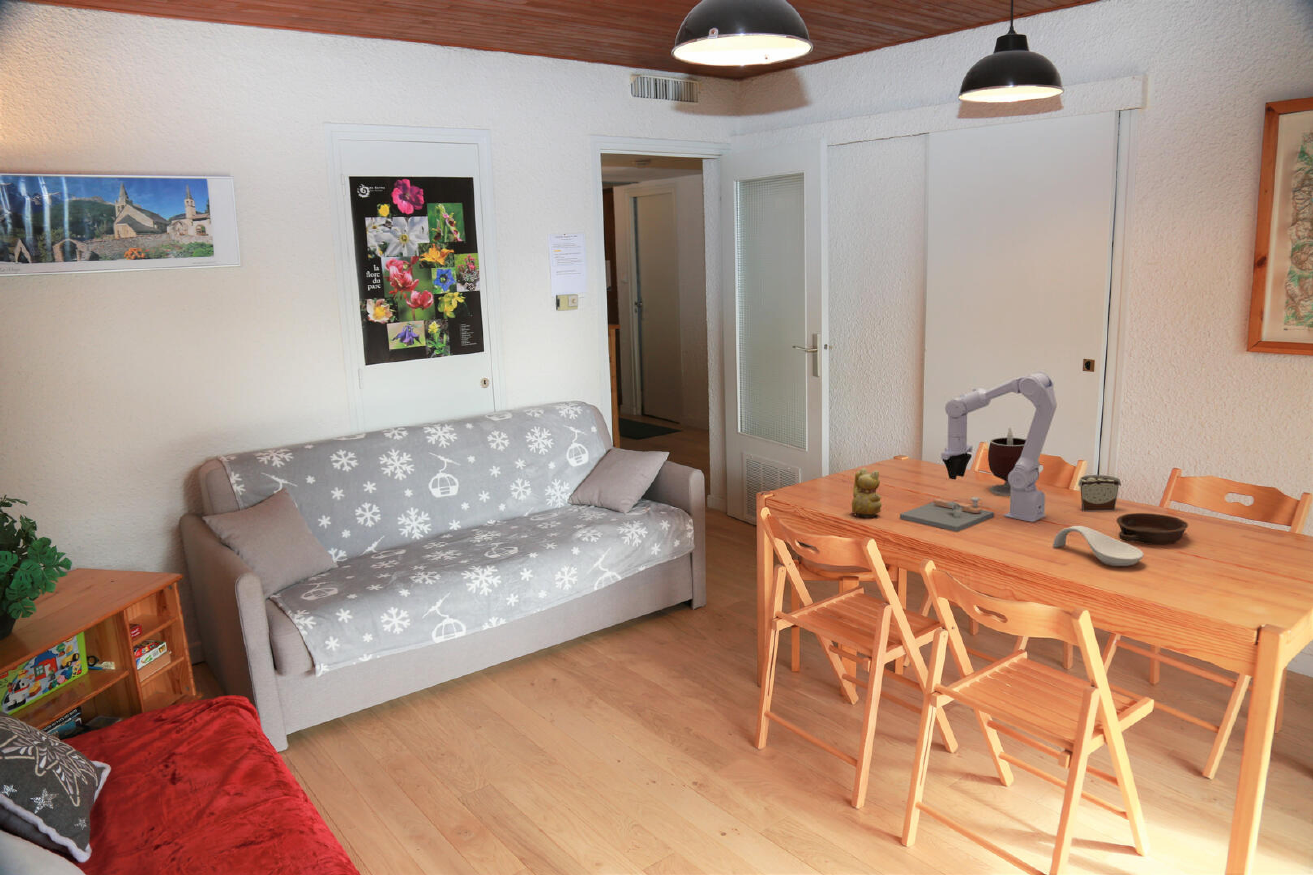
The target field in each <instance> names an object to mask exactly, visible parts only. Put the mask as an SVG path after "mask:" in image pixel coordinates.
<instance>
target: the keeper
mask: <svg viewBox="0 0 1313 875" xmlns="http://www.w3.org/2000/svg"><path fill="white" fill-rule="evenodd" d="M947 505H948V506H950V507H951V508H953V509H954V517H955V518H958V517H962V506H961V505H959V504H957V503H955V502H947Z"/></svg>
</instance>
